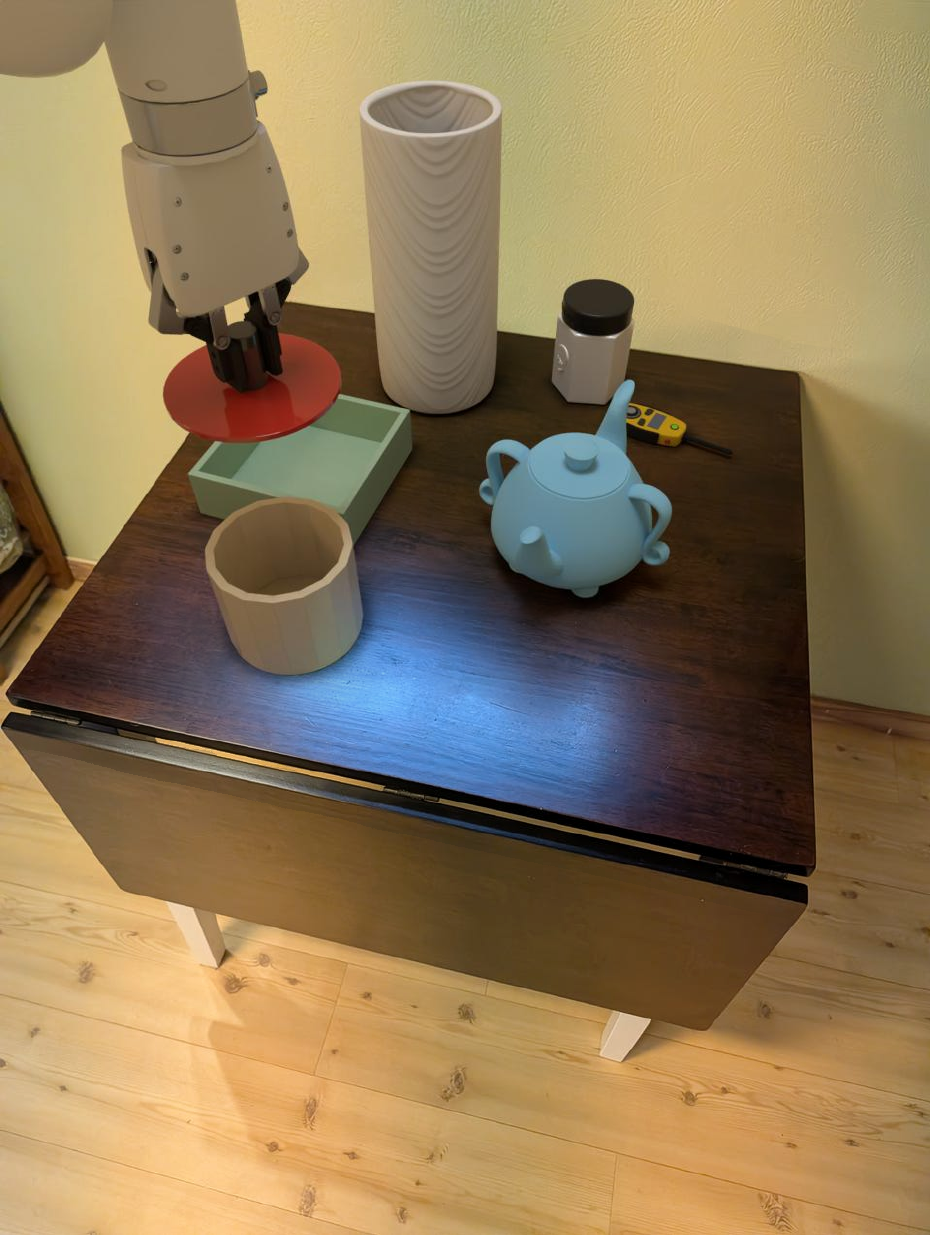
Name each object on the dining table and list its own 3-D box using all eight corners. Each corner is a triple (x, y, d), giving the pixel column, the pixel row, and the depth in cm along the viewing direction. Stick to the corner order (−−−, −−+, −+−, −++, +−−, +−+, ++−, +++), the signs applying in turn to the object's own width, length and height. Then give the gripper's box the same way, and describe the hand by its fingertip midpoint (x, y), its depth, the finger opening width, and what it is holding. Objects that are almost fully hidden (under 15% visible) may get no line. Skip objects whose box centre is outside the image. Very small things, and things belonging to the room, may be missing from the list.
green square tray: (349, 553, 87) (343, 514, 83) (200, 513, 91) (187, 473, 87) (412, 449, 98) (410, 409, 93) (276, 417, 101) (268, 377, 97)
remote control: (621, 393, 101) (742, 433, 97) (619, 406, 103) (738, 446, 98) (604, 415, 99) (728, 457, 94) (602, 428, 100) (724, 470, 95)
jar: (541, 373, 107) (549, 285, 98) (598, 358, 109) (610, 270, 100) (574, 413, 102) (585, 324, 93) (633, 397, 104) (649, 309, 95)
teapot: (614, 483, 94) (633, 376, 83) (676, 615, 82) (708, 510, 71) (471, 503, 92) (472, 396, 81) (514, 642, 80) (522, 538, 69)
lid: (168, 462, 61) (145, 398, 56) (164, 356, 69) (144, 293, 65) (355, 434, 63) (347, 370, 59) (329, 334, 71) (320, 271, 67)
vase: (399, 343, 111) (381, 73, 87) (505, 359, 109) (518, 86, 85) (365, 409, 102) (335, 128, 78) (480, 427, 100) (486, 144, 76)
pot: (237, 687, 77) (210, 614, 69) (226, 586, 84) (201, 510, 76) (373, 659, 79) (363, 585, 71) (351, 563, 86) (339, 486, 78)
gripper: (265, 64, 56) (306, 316, 70) (35, 133, 49) (132, 398, 63) (336, 96, 52) (363, 354, 67) (99, 175, 45) (187, 445, 60)
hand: (250, 374), depth 65 cm, fingers closed on lid, 2 cm apart
